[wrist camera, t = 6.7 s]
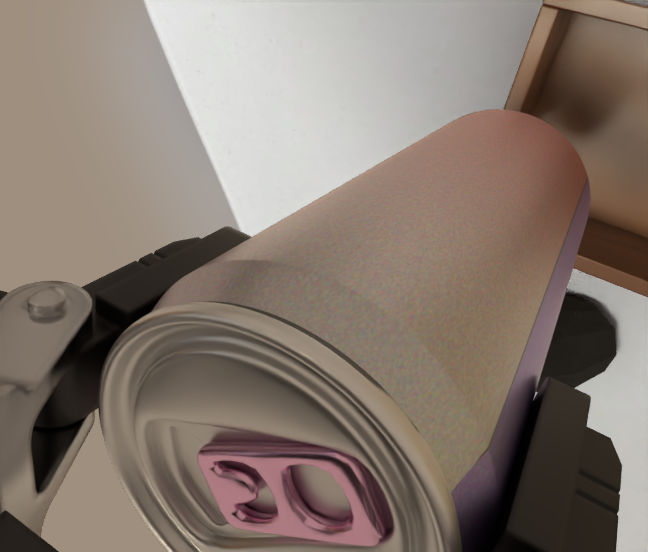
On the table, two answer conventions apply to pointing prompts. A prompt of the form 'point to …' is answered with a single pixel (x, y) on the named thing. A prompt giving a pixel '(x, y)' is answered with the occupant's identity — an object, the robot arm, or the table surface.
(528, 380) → the beverage can
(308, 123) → the table surface
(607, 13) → the wooden crate
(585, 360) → the gaming mouse
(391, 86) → the table surface
